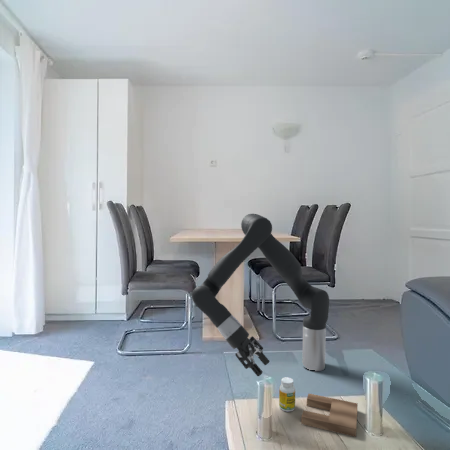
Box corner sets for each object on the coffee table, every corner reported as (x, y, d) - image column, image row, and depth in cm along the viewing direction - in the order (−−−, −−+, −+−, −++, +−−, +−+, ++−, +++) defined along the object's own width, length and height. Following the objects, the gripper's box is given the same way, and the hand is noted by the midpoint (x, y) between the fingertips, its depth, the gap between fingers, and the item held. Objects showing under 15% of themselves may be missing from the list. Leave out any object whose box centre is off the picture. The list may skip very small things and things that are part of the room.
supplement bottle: (287, 401, 124) (287, 374, 123) (298, 408, 119) (299, 381, 118) (275, 406, 121) (276, 378, 120) (286, 414, 116) (287, 385, 115)
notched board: (308, 400, 124) (308, 393, 124) (357, 410, 118) (357, 403, 118) (301, 423, 111) (301, 416, 111) (355, 436, 105) (356, 428, 105)
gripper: (232, 332, 118) (266, 372, 114) (246, 318, 131) (276, 354, 127) (218, 345, 120) (250, 385, 117) (233, 330, 133) (262, 365, 130)
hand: (264, 368), depth 122 cm, fingers open, 8 cm apart
